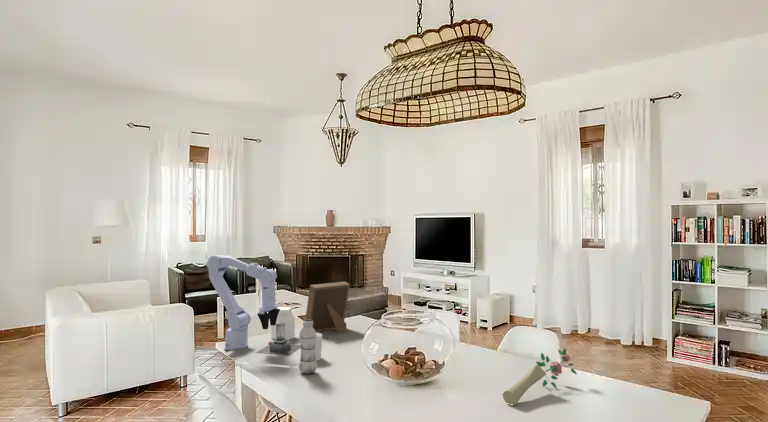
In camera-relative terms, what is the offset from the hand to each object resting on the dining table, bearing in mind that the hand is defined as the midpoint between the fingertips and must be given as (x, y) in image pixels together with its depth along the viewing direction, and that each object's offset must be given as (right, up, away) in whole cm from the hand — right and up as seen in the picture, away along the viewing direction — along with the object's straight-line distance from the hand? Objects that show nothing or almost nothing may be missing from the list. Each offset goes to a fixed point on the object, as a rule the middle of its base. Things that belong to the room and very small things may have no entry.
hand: (269, 327), depth 217 cm
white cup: (+21, -11, -12) cm, 27 cm away
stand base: (+5, -10, -1) cm, 12 cm away
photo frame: (+23, -11, +36) cm, 44 cm away
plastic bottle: (+22, -10, -31) cm, 39 cm away
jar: (+2, -11, +20) cm, 23 cm away
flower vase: (+104, -10, -51) cm, 116 cm away
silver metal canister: (+5, -7, -1) cm, 8 cm away
